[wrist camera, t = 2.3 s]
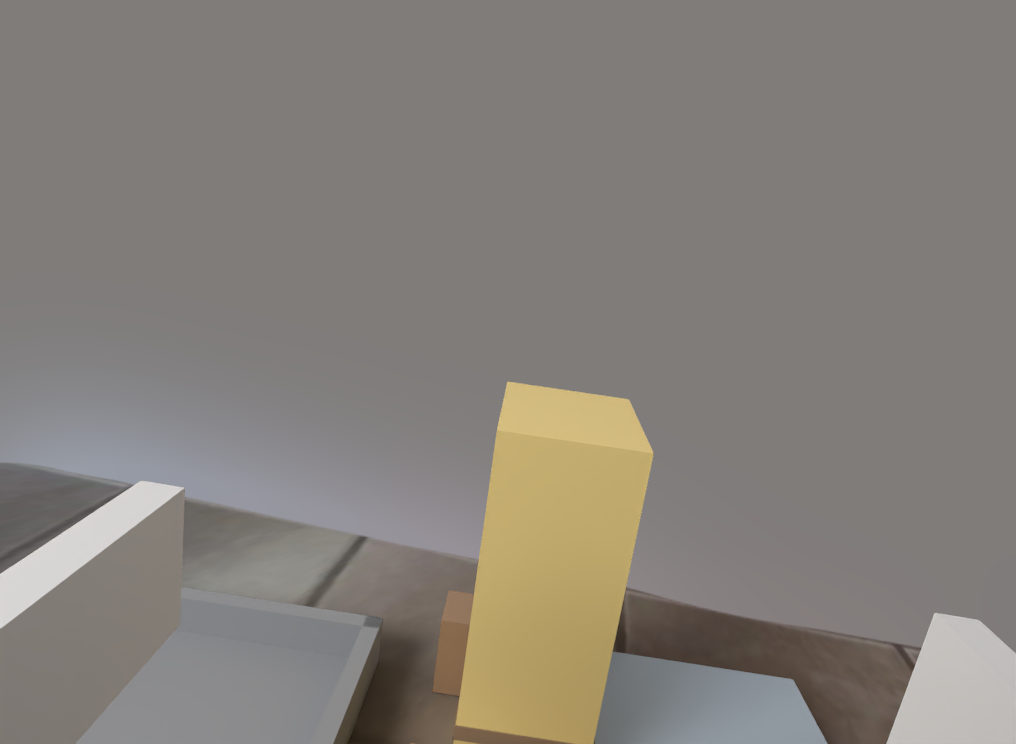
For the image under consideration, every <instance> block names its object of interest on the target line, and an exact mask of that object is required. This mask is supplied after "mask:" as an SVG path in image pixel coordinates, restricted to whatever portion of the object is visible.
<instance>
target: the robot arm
mask: <svg viewBox="0 0 1016 744" xmlns="http://www.w3.org/2000/svg"><path fill="white" fill-rule="evenodd" d="M184 493H185V488H182V487H176V486H170V485H164V484H158V483H152V482H146V481H140V482H139V483H137V484H136V485H134V486H133V487H131V488H130V489H128V490H127V491H125V492H123V493H122V494H120V495H119V496H117V497H116V498H114V499H113V500H111V501H110V502H108V503H107V504H105V505H104V506H102V507H101V508H99V509H98V510H96V511H95V512H93V513H92V514H90V515H89V516H87V517H86V518H84V519H83V520H81V521H80V522H78V523H77V524H75V525H74V526H72V527H71V528H69V529H68V530H66V531H65V532H63V533H62V534H60V535H59V536H57V537H56V538H54V539H53V540H51V541H49V542H48V543H46V544H45V545H43V546H42V547H40V548H39V549H37V550H36V551H34V552H33V553H31V554H30V555H28V556H27V557H25V558H24V559H22V560H21V561H19V562H18V563H16V564H15V565H13V566H12V567H10V568H9V569H7V570H6V571H4V572H3V573H1V574H0V744H75V743H76V742H77V741H78V740H79V739H80V738H81V737H82V735H83V734H84V733H85V732H86V731H87V730H88V729H89V728H90V726H91V725H92V724H93V723H94V722H95V721H96V720H97V718H98V717H99V716H100V715H101V714H102V713H103V712H104V710H105V709H106V708H107V707H108V706H109V705H110V704H111V703H112V701H113V700H114V699H115V698H116V697H117V696H118V695H119V693H120V692H121V691H122V690H123V689H124V688H125V687H126V685H127V684H128V683H129V682H130V681H131V680H132V679H133V678H134V676H135V675H136V674H137V673H138V672H139V671H140V670H141V668H142V667H143V666H144V665H145V664H146V663H147V662H148V660H149V659H150V658H151V657H152V656H153V655H154V654H155V653H156V651H157V650H158V649H159V648H160V647H161V646H162V645H163V643H164V642H165V641H166V640H167V639H168V638H169V637H170V635H171V634H172V633H173V632H174V631H175V630H176V629H177V628H178V626H179V625H180V607H181V579H182V551H183V523H184V495H185V494H184ZM887 744H1016V654H1015V653H1014V652H1013V651H1012V650H1011V649H1010V648H1009V647H1008V646H1007V645H1006V644H1005V643H1003V642H1002V641H1001V640H1000V639H999V638H998V637H997V636H996V635H995V634H994V633H992V632H991V631H990V630H989V629H988V628H987V627H986V626H985V625H984V624H983V623H982V622H980V621H979V620H975V619H969V618H963V617H957V616H951V615H945V614H939V613H935V614H934V616H933V619H932V622H931V624H930V627H929V630H928V633H927V635H926V638H925V641H924V644H923V646H922V649H921V651H920V654H919V657H918V660H917V662H916V665H915V668H914V670H913V673H912V676H911V679H910V681H909V684H908V687H907V689H906V692H905V695H904V698H903V700H902V703H901V706H900V708H899V711H898V714H897V717H896V719H895V722H894V725H893V727H892V730H891V733H890V736H889V738H888V741H887Z"/></svg>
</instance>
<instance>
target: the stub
mask: <svg viewBox="0 0 1016 744" xmlns="http://www.w3.org/2000/svg"><path fill="white" fill-rule="evenodd" d="M652 459H653V451H652V449H651V447H650V444H649V442H648V440H647V438H646V436H645V434H644V431H643V429H642V428H641V425H640V423H639V421H638V419H637V416H636V414H635V412H634V410H633V407H632V405H631V403H630V401H629V399H623V398H616V397H609V396H602V395H595V394H589V393H582V392H575V391H568V390H561V389H554V388H547V387H541V386H534V385H527V384H520V383H513V382H507V386H506V391H505V396H504V400H503V406H502V410H501V415H500V419H499V424H498V428H497V434H496V442H495V448H494V456H493V463H492V470H491V477H490V484H489V492H488V499H487V506H486V514H485V521H484V528H483V535H482V542H481V549H480V556H479V563H478V570H477V577H476V584H475V592H474V599H473V606H472V613H471V620H470V627H469V635H468V642H467V649H466V656H465V663H464V670H463V678H462V685H461V690H460V696H459V702H458V708H457V713H456V719H455V725H454V732H453V740H454V742H453V744H594V738H595V734H596V729H597V724H598V719H599V714H600V710H601V705H602V700H603V695H604V690H605V685H606V681H607V676H608V671H609V666H610V661H611V657H612V652H613V647H614V642H615V637H616V632H617V628H618V623H619V618H620V613H621V608H622V604H623V599H624V594H625V589H626V584H627V579H628V575H629V570H630V565H631V560H632V555H633V551H634V546H635V541H636V536H637V531H638V526H639V521H640V517H641V512H642V507H643V502H644V498H645V493H646V488H647V483H648V478H649V473H650V468H651V464H652Z"/></svg>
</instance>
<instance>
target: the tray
mask: <svg viewBox="0 0 1016 744" xmlns="http://www.w3.org/2000/svg"><path fill="white" fill-rule="evenodd" d="M382 624H383V618H378V617H372V616H366V615H359V614H353V613H346V612H340V611H333V610H327V609H320V608H314V607H307V606H301V605H294V604H288V603H282V602H275V601H269V600H262V599H256V598H249V597H243V596H236V595H230V594H223V593H217V592H210V591H204V590H198V589H191V588H185V587H181V607H180V625H179V626H178V628H177V629H176V630H175V631H174V632H173V633H172V634H171V635H170V637H169V638H168V639H167V640H166V641H165V642H164V643H163V645H162V646H161V647H160V648H159V649H158V650H157V651H156V653H155V654H154V655H153V656H152V657H151V658H150V659H149V660H148V662H147V663H146V664H145V665H144V666H143V667H142V668H141V670H140V671H139V672H138V673H137V674H136V675H135V676H134V678H133V679H132V680H131V681H130V682H129V683H128V684H127V685H126V687H125V688H124V689H123V690H122V691H121V692H120V693H119V695H118V696H117V697H116V698H115V699H114V700H113V701H112V703H111V704H110V705H109V706H108V707H107V708H106V709H105V710H104V712H103V713H102V714H101V715H100V716H99V717H98V718H97V720H96V721H95V722H94V723H93V724H92V725H91V726H90V728H89V729H88V730H87V731H86V732H85V733H84V734H83V735H82V737H81V738H80V739H79V740H78V741H77V742H76V743H75V744H348V743H349V740H350V738H351V735H352V732H353V730H354V727H355V724H356V721H357V719H358V716H359V713H360V711H361V708H362V705H363V702H364V700H365V697H366V694H367V692H368V689H369V686H370V683H371V681H372V678H373V675H374V673H375V670H376V667H377V664H378V662H379V654H380V644H381V634H382Z"/></svg>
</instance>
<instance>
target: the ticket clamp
mask: <svg viewBox="0 0 1016 744" xmlns="http://www.w3.org/2000/svg"><path fill="white" fill-rule="evenodd" d="M473 599H474V594H469V593H463V592H456V591H450V590H449V592H448V596H447V600H446V604H445V608H444V612H443V616H442V620H441V628H440V636H439V644H438V652H437V660H436V667H435V675H434V683H433V691H432V692H436V693H442V694H448V695H455V696H460V690H461V685H462V678H463V670H464V663H465V656H466V649H467V642H468V635H469V627H470V620H471V613H472V606H473ZM410 744H416V743H410ZM594 744H827V742H826V740H825V738H824V736H823V734H822V733H821V731H820V729H819V727H818V725H817V723H816V721H815V720H814V718H813V716H812V714H811V712H810V710H809V708H808V706H807V705H806V703H805V701H804V699H803V697H802V695H801V693H800V692H799V690H798V688H797V686H796V684H795V682H794V680H793V679H787V678H781V677H774V676H768V675H761V674H755V673H748V672H742V671H735V670H729V669H723V668H716V667H710V666H703V665H697V664H690V663H684V662H677V661H671V660H664V659H658V658H651V657H645V656H638V655H632V654H626V653H619V652H612V657H611V661H610V666H609V671H608V676H607V681H606V685H605V690H604V695H603V700H602V705H601V710H600V714H599V719H598V724H597V729H596V734H595V738H594Z"/></svg>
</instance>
